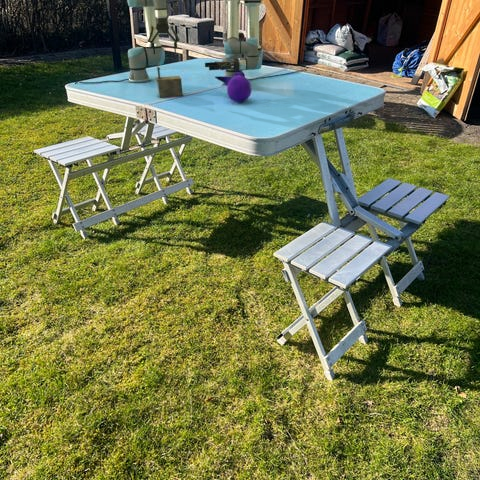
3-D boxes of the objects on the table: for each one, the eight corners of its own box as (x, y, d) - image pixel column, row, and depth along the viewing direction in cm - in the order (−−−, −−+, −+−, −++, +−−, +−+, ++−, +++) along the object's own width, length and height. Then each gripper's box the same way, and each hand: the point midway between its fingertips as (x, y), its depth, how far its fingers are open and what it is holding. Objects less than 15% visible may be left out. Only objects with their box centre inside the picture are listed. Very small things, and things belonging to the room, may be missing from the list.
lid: (156, 81, 285) (155, 68, 281) (155, 79, 293) (153, 65, 289) (181, 80, 289) (180, 66, 284) (179, 77, 296) (178, 64, 292)
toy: (237, 93, 295) (251, 108, 274) (212, 89, 288) (224, 103, 267) (243, 69, 287) (258, 82, 266) (217, 64, 279) (231, 76, 259)
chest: (159, 97, 290) (158, 81, 285) (158, 94, 298) (156, 79, 293) (182, 96, 294) (181, 80, 289) (180, 93, 301) (179, 77, 296)
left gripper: (181, 16, 287) (184, 52, 297) (141, 17, 285) (146, 53, 295) (181, 17, 280) (184, 53, 291) (140, 18, 278) (145, 55, 289)
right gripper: (243, 73, 289) (211, 75, 284) (233, 67, 310) (203, 69, 305) (243, 61, 285) (210, 63, 281) (233, 56, 306) (203, 57, 302)
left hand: (164, 53), depth 293 cm, fingers open, 13 cm apart
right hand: (206, 66), depth 293 cm, fingers open, 13 cm apart
